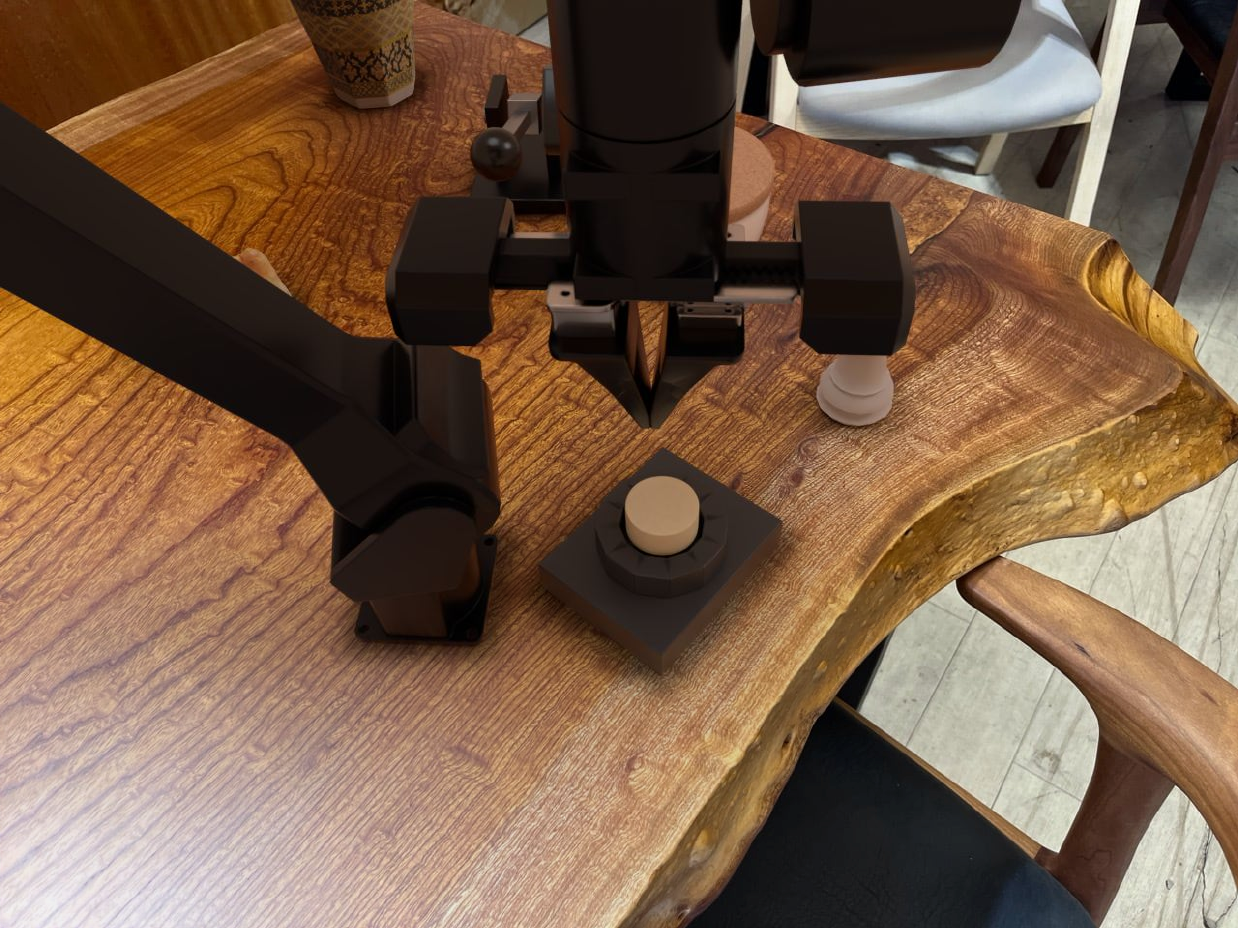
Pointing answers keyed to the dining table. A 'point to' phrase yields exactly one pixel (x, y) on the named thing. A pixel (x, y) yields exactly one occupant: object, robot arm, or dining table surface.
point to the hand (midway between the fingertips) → (650, 421)
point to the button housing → (660, 566)
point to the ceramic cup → (363, 47)
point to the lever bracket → (522, 164)
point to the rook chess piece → (856, 389)
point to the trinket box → (750, 184)
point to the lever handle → (507, 138)
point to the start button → (662, 515)
